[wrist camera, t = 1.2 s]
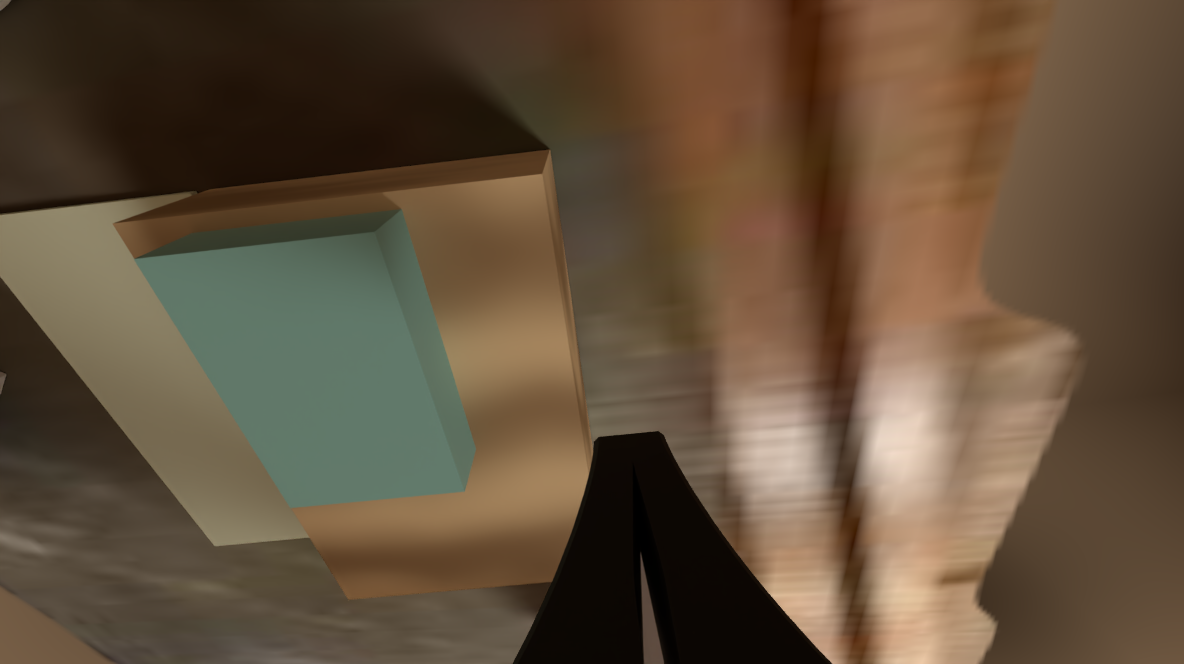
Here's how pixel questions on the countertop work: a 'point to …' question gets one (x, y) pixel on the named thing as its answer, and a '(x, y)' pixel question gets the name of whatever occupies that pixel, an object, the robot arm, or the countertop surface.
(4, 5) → the supplement bottle
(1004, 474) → the countertop surface
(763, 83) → the countertop surface
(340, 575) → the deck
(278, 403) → the sage green box
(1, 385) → the walkman
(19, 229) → the mat
